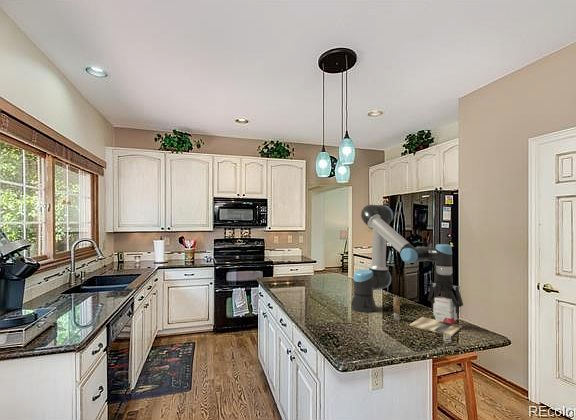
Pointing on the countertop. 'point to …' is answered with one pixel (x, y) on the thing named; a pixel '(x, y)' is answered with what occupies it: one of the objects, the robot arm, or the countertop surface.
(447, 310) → the ink box
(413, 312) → the countertop surface
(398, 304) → the awl dowel
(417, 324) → the subfloor board
